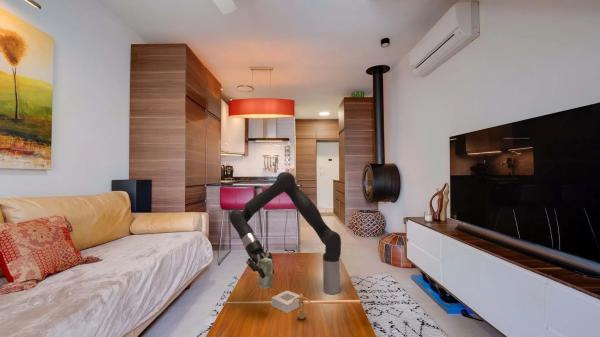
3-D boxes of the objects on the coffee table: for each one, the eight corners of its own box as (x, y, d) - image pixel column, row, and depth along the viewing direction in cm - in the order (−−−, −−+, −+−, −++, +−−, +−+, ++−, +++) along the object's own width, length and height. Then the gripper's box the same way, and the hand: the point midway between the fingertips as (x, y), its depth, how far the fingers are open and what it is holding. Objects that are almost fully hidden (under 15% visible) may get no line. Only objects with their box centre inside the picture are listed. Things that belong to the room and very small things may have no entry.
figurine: (310, 316, 118) (310, 289, 118) (310, 323, 112) (310, 295, 112) (292, 316, 118) (292, 289, 118) (291, 323, 112) (291, 295, 112)
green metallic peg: (266, 283, 121) (266, 257, 122) (272, 286, 118) (272, 259, 119) (258, 286, 118) (258, 260, 118) (265, 289, 115) (265, 262, 115)
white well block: (287, 298, 136) (287, 290, 136) (302, 304, 128) (302, 296, 128) (271, 305, 127) (271, 297, 128) (287, 313, 120) (287, 304, 120)
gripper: (243, 242, 118) (259, 275, 110) (266, 237, 129) (283, 267, 120) (236, 252, 122) (252, 285, 113) (260, 246, 132) (276, 275, 124)
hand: (268, 275), depth 117 cm, fingers closed on green metallic peg, 4 cm apart
